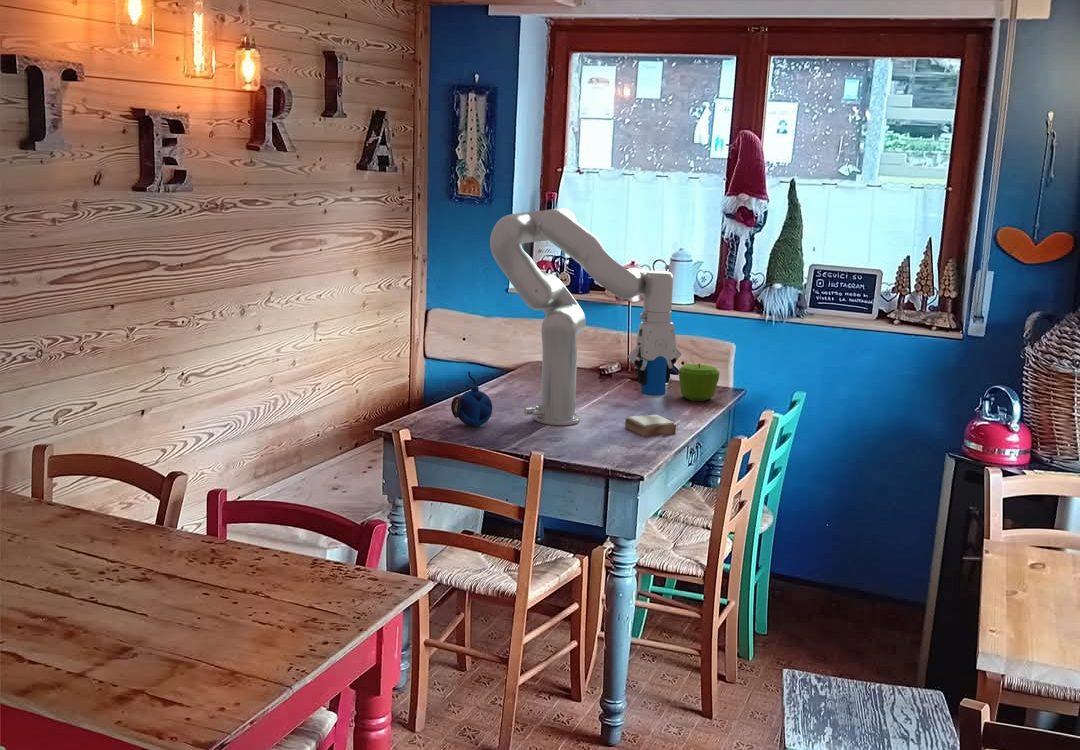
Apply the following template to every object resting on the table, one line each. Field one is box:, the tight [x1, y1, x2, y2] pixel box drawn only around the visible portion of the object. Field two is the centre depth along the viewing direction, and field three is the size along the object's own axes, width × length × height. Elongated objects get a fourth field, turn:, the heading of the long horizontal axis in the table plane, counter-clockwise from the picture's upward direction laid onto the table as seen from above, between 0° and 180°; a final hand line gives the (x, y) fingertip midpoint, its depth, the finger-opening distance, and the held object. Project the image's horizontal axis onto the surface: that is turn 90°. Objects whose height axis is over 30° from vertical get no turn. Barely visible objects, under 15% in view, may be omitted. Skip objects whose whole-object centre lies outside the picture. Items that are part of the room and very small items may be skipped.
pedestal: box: [624, 414, 677, 437], centre depth 297 cm, size 10×10×3 cm
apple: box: [678, 363, 720, 402], centre depth 337 cm, size 12×12×11 cm
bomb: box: [450, 371, 494, 427], centre depth 293 cm, size 10×11×15 cm
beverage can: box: [640, 354, 667, 399], centre depth 294 cm, size 6×6×12 cm
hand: (653, 382), depth 295 cm, fingers closed on beverage can, 6 cm apart
